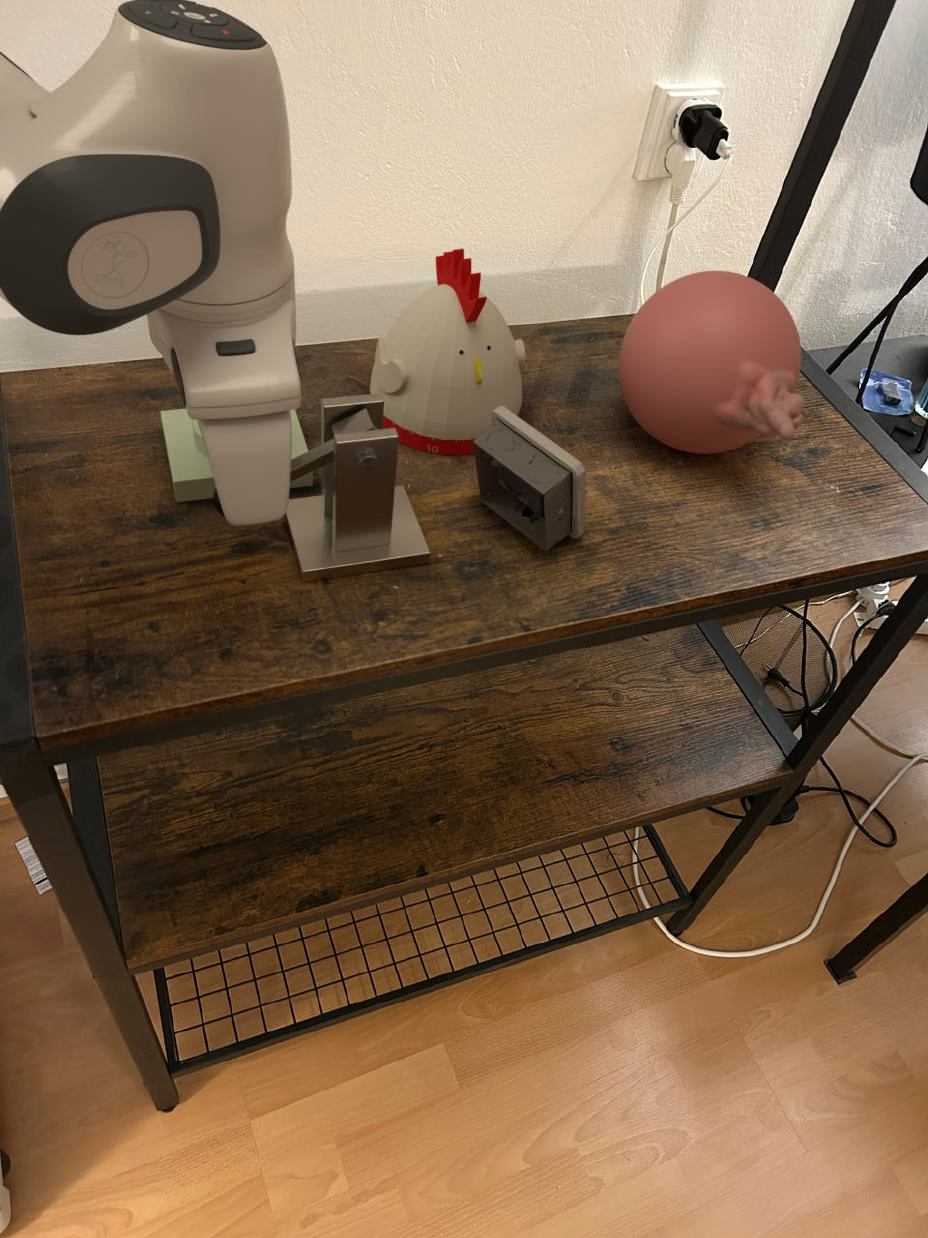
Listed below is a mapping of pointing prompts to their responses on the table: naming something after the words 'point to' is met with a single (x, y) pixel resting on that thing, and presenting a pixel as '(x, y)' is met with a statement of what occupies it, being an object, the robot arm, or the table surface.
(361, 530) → the switch bracket
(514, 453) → the electrical switch
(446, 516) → the table surface
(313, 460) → the switch lever
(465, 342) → the kitchen timer
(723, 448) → the balloon
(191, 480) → the control block
